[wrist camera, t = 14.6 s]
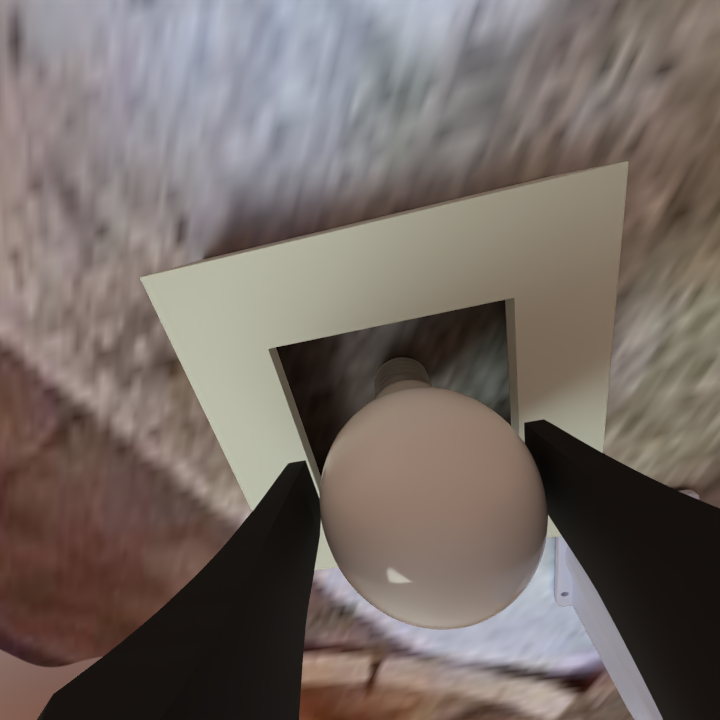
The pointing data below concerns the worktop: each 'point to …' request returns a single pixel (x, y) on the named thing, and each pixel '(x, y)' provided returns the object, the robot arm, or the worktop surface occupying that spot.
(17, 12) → the worktop surface
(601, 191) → the square bulb holder
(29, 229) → the worktop surface
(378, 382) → the lightbulb
